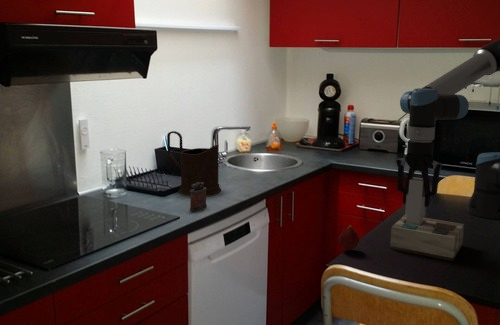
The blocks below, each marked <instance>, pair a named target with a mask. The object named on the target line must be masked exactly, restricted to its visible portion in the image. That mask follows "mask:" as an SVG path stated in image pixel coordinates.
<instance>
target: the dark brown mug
mask: <svg viewBox="0 0 500 325" xmlns="http://www.w3.org/2000/svg"><path fill="white" fill-rule="evenodd" d="M171 134H175V135H177V136H178V138H179V149H180V163H179V162H178V161H177V160H176V159H175V157H174V155H172V153H171ZM166 135H167V136H166V141H167V144H166V145H167V155H168V157H169V158H170V159H171V160H172V161H173V163H174V164H175V165H176V167H178V169H179V170H180V176H181V178H180V179H181V180H180V182H181V183H180V186H179V189H178V192H177V193H178V194H180V195H183V196H187V197H190V190H192V189H194V188H192V184H196V183H197V182H199V183H201V182H203V183H204V187H206V188H207V190H206V197H212V196H216V195H219V194H221V193H222V191H223V190H222V188H221V187H220V183H219V144H215V145H213V146H211V147H209V148H208V147H201V148H200V147H196V148H191V149H187V150H184V148H183V136H182V134H181V133H180V132H178V131H175V130H172V131H170V132H168V133H167V134H166Z"/></svg>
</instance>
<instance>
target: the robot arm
mask: <svg viewBox="0 0 500 325" xmlns="http://www.w3.org/2000/svg"><path fill="white" fill-rule="evenodd" d="M497 72H500V38H499V39H496V40H493V41H491V42H489V43H488V44H486V45H484V46H483V47H481V48H479V49H478V50H476V51H474V53H473V55H472V57H471V58H469V59H467V60H465V61H464V62H462V63H461V64H459V65H457V66H456V67H454V68H453V69H451V70H449V71H448V72H446V73H444V74H442V75H441V76H439V77H438V78H436V79H435V80H433V81H431V82H430V83H428V84H426V85H424V86H423V87H421V88H419V87H418V88H414V89H413V90H409V91H405V92H404V93H403V94H402V95H401V97H400V100H399V106H400V108H401V110H402V112H403V113H405V114H409V118H408V120H409V122H408V134H407V139H408V141H407V147H406V155H405V156H404V158H403V157H402V158H398V159H396V161H395V162H396V165H397V189H396V190H397V191H399V192H401V193H402V204H405V211H404V215H407V206H408V193H409V180H410V179H412V178H413V177H414V175H415V173H416V172H421V177H422V178H423V181H424V182H423V185H424V193H425V195H424V196H423V197H422V206H421V218H425V217H426V210H427V208H428V207H429V206H430V203H431V202H430V201H431V197H434V196H436V195H437V194H438V187H439V180H440V171H441V169H442V168H443V163H442V162H438V161H436V160H435V158H434V146H435V145H434V144H435V143H434V141H435V134H436V124H437V123H436V122H437V121H440V120H443V121H444V120H453V121H455V120H458V119H462V118H463V119H464V117H465V116H466V115H467V114H468V111H469V107H470V104H469V101H468V99H467V97H466V96H464V95H462V94H457V93H459V92H460V91H463V90H464V89H465V88H467V87H469V86H470V85H473V83H475V82H476V81H479V79H481V78H483V77H485V76H491V75H493V74H495V73H497ZM405 164H407V165H408V167H409V168H408V173H407V177H406V179H405V177H404V176H405ZM431 166H433V167H432V168H433V169H434V170H433V176H432V184H431V186H430V178H429V177H430V176H429V168H430V167H431ZM474 175H475V176H474V185H473V192H472V194H471V197H470V199H469V201H468V203H467V205H466V212H467V213H468V214H470V215H473V216H476V217H477V218H478V217H479V218H482V219H483V218H484V219H492V220H500V151H497V152H496V151H495V152H494V151H493V152H481V153H479V154H478V156H477V158H476V163H475V174H474ZM404 179H405V183H404Z"/></svg>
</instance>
